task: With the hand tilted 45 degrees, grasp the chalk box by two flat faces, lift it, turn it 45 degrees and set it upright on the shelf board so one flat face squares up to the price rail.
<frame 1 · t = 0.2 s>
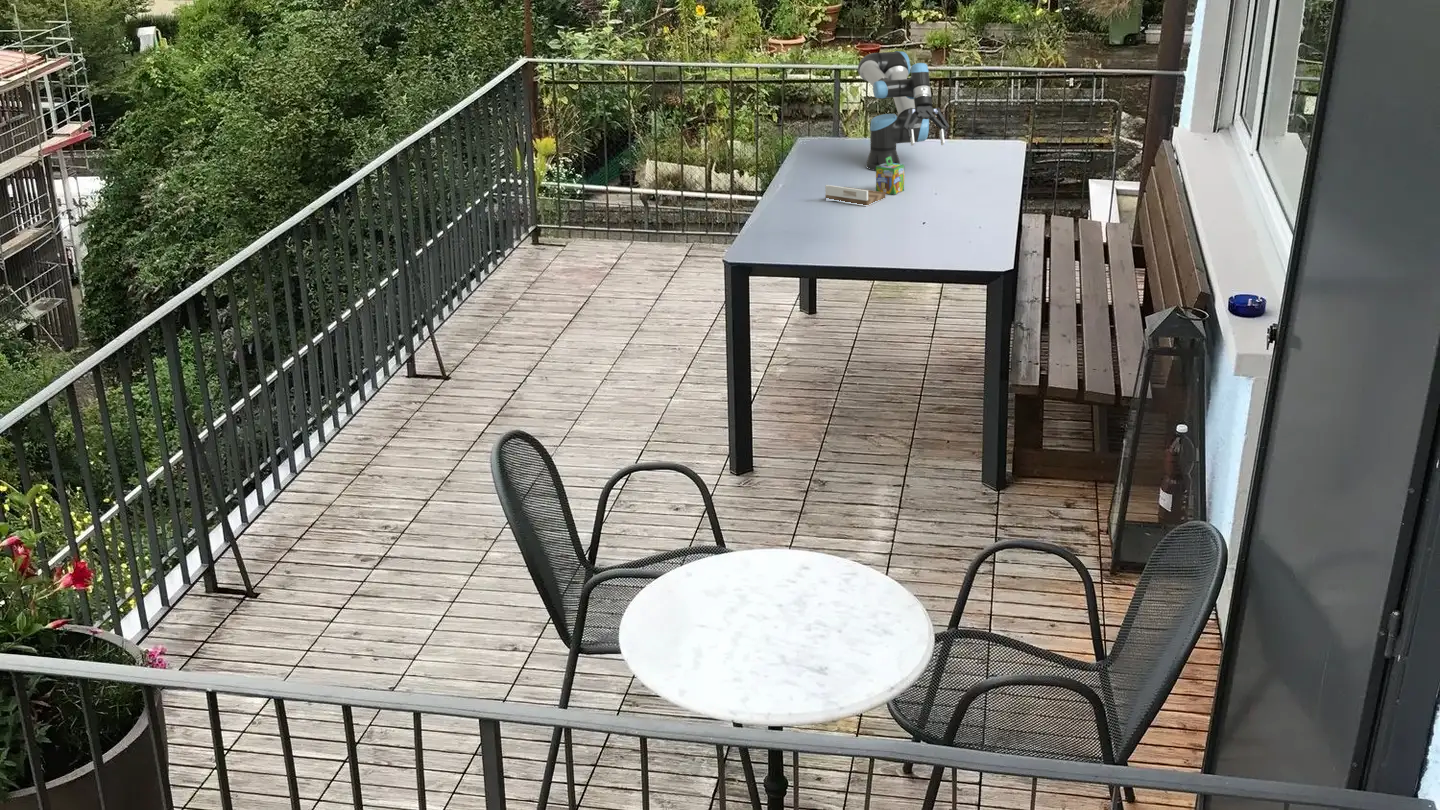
hand: (927, 144, 584), 16 cm above the table, tool tilted 35°, fingers open, 13 cm apart
chalk box: (890, 192, 575), on the table
shelf board: (855, 199, 566), on the table
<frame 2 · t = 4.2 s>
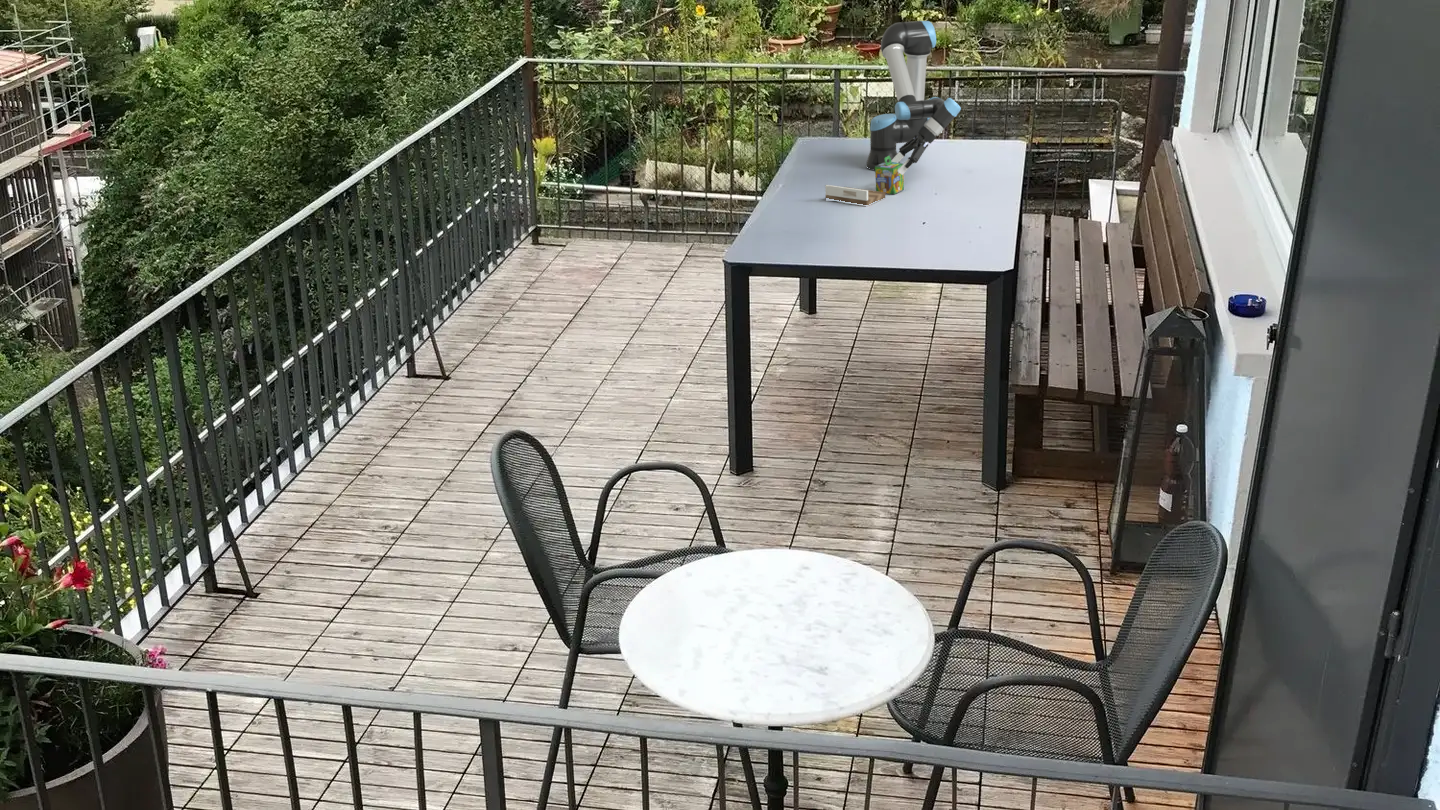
hand: (895, 169, 570), 10 cm above the table, tool tilted 45°, fingers open, 13 cm apart
nothing on the table moved.
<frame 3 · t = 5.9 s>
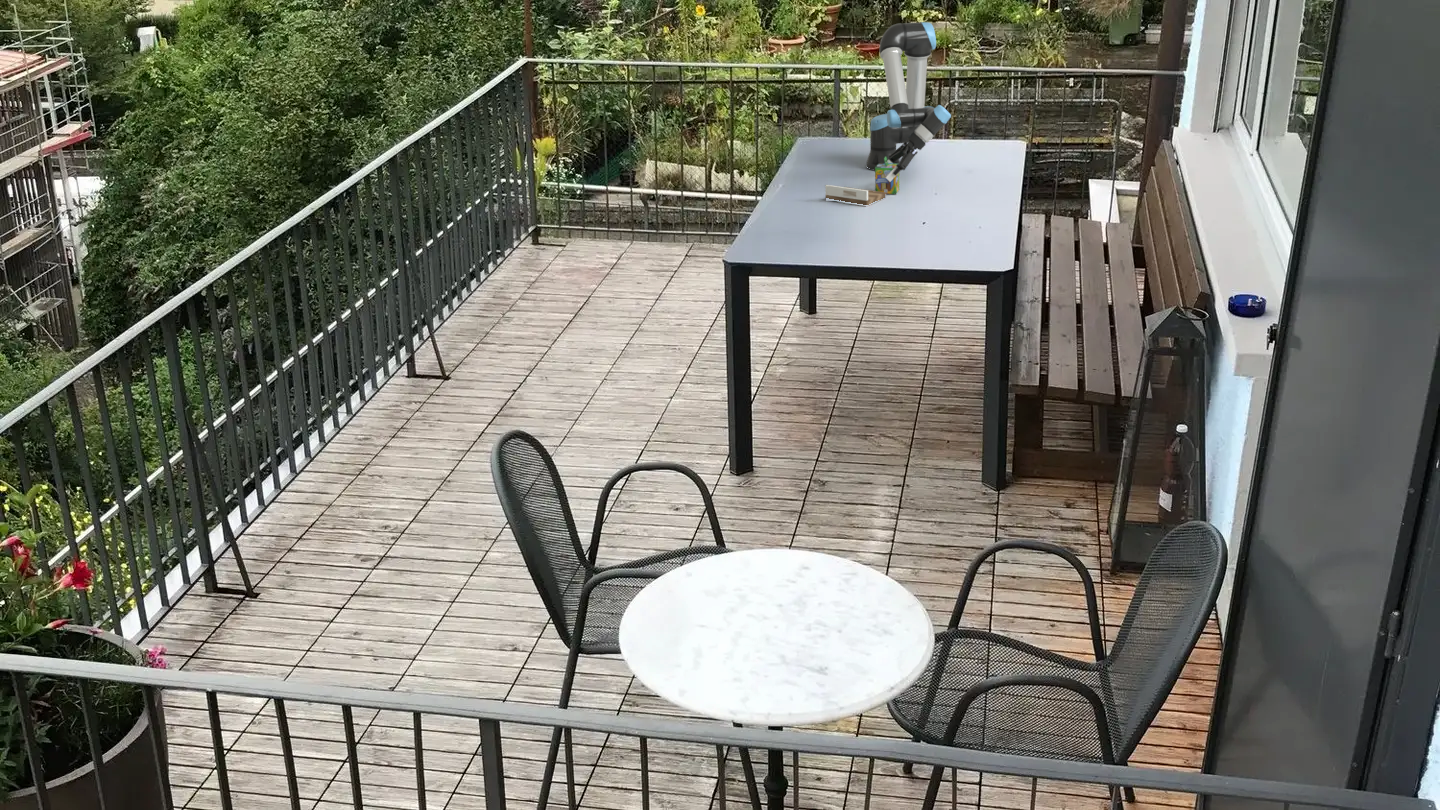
hand: (884, 176, 572), 7 cm above the table, tool tilted 45°, fingers closed on chalk box, 11 cm apart
chalk box: (887, 192, 575), on the table, touching gripper
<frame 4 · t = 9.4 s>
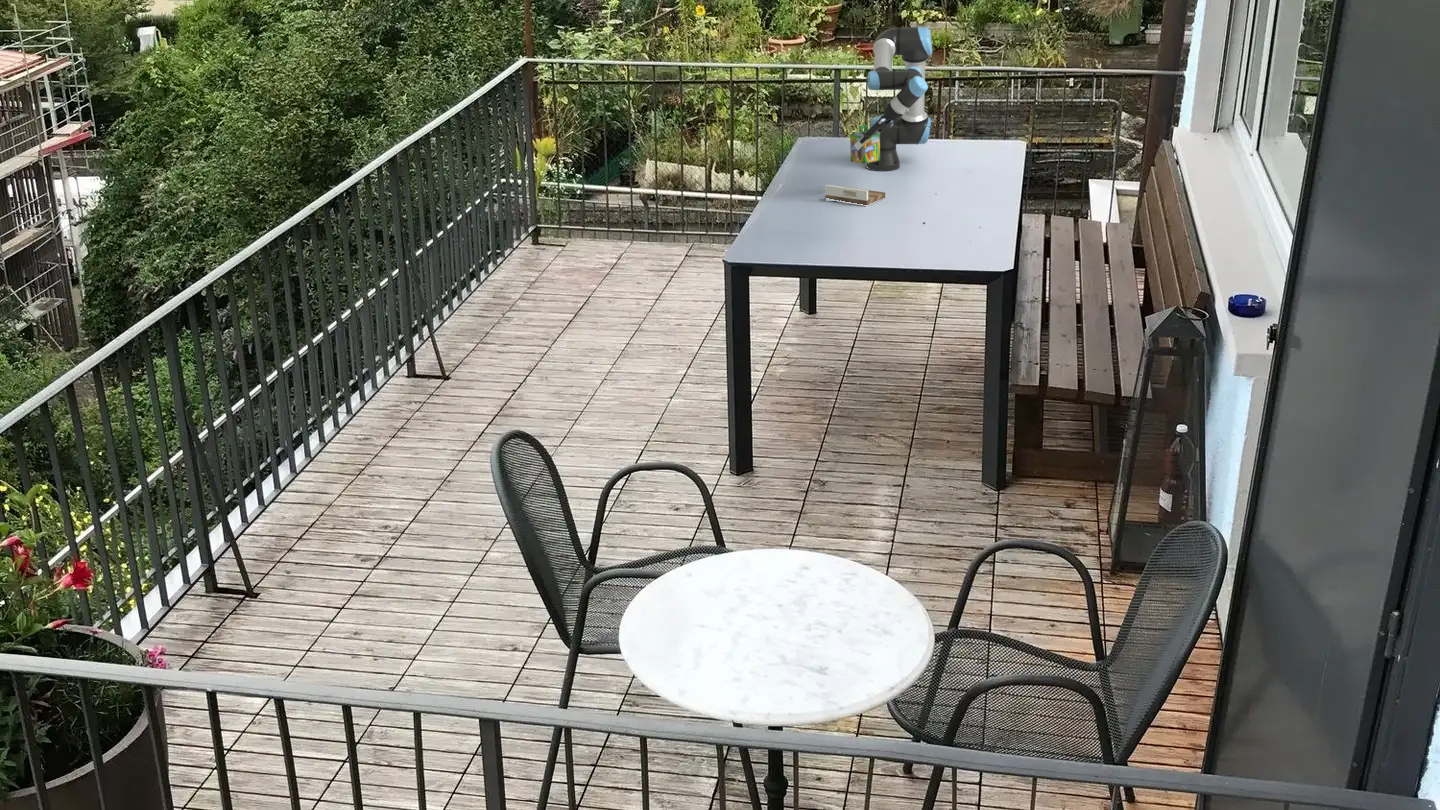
hand: (861, 144, 561), 22 cm above the table, tool tilted 45°, fingers closed on chalk box, 11 cm apart
chalk box: (865, 161, 563), point 15 cm above the table, touching gripper
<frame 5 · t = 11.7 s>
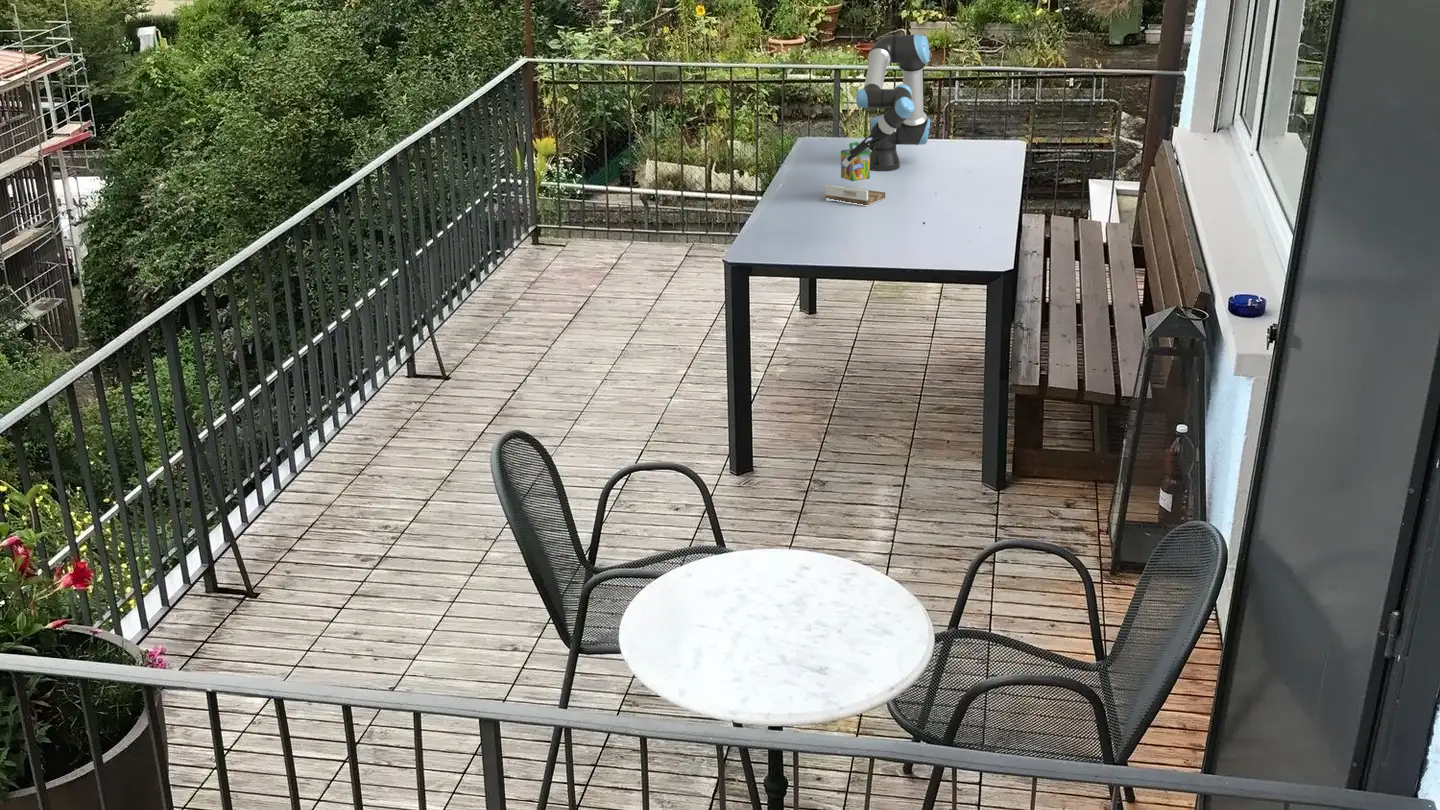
hand: (852, 161, 562), 15 cm above the table, tool tilted 45°, fingers closed on chalk box, 11 cm apart
chalk box: (855, 178, 564), point 8 cm above the table, touching gripper
when the fingers open (11 cm above the table, at t = 13.3 s): chalk box drops 2 cm, resting on shelf board.
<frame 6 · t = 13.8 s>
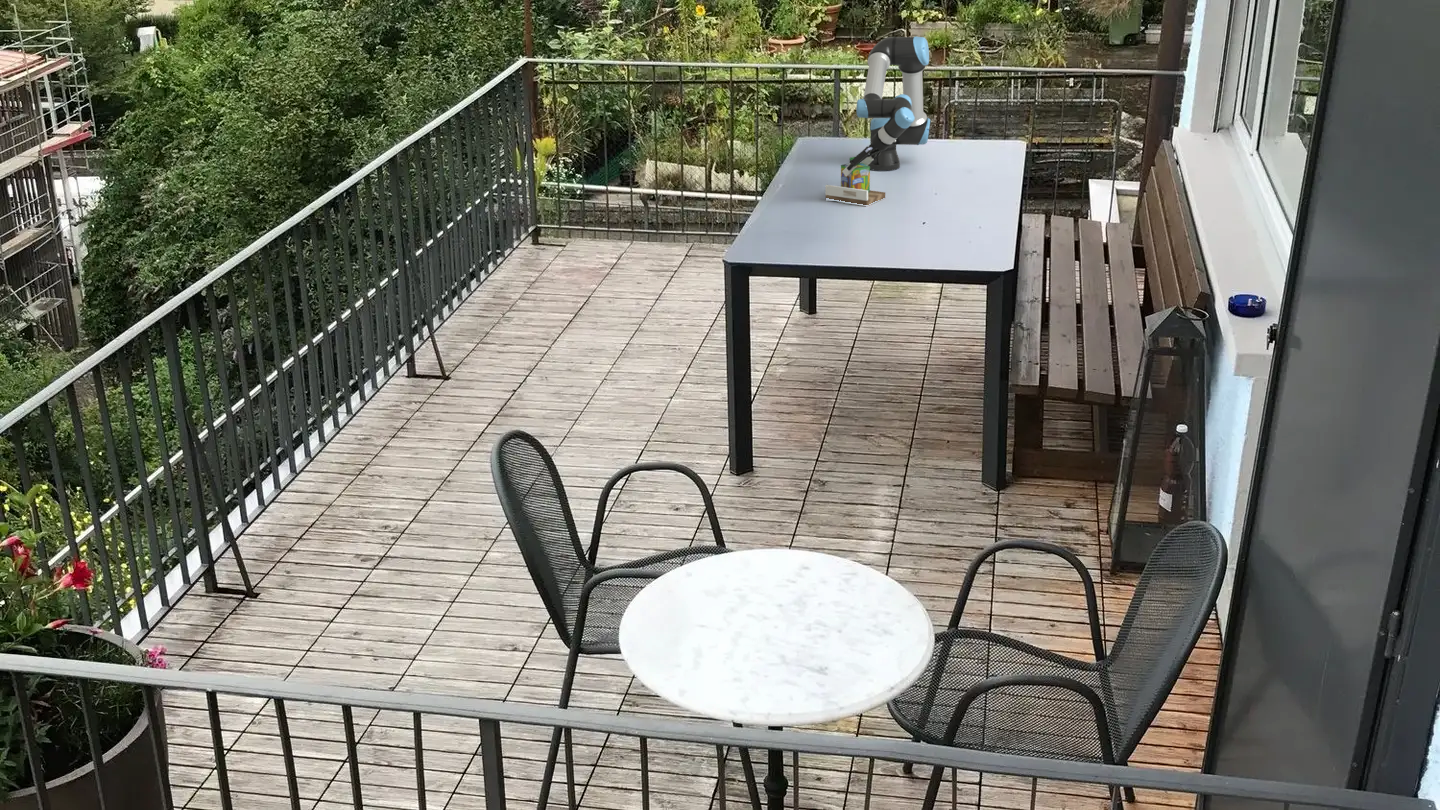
hand: (853, 170, 564), 12 cm above the table, tool tilted 45°, fingers open, 13 cm apart
chalk box: (855, 192, 567), point 2 cm above the table, touching shelf board
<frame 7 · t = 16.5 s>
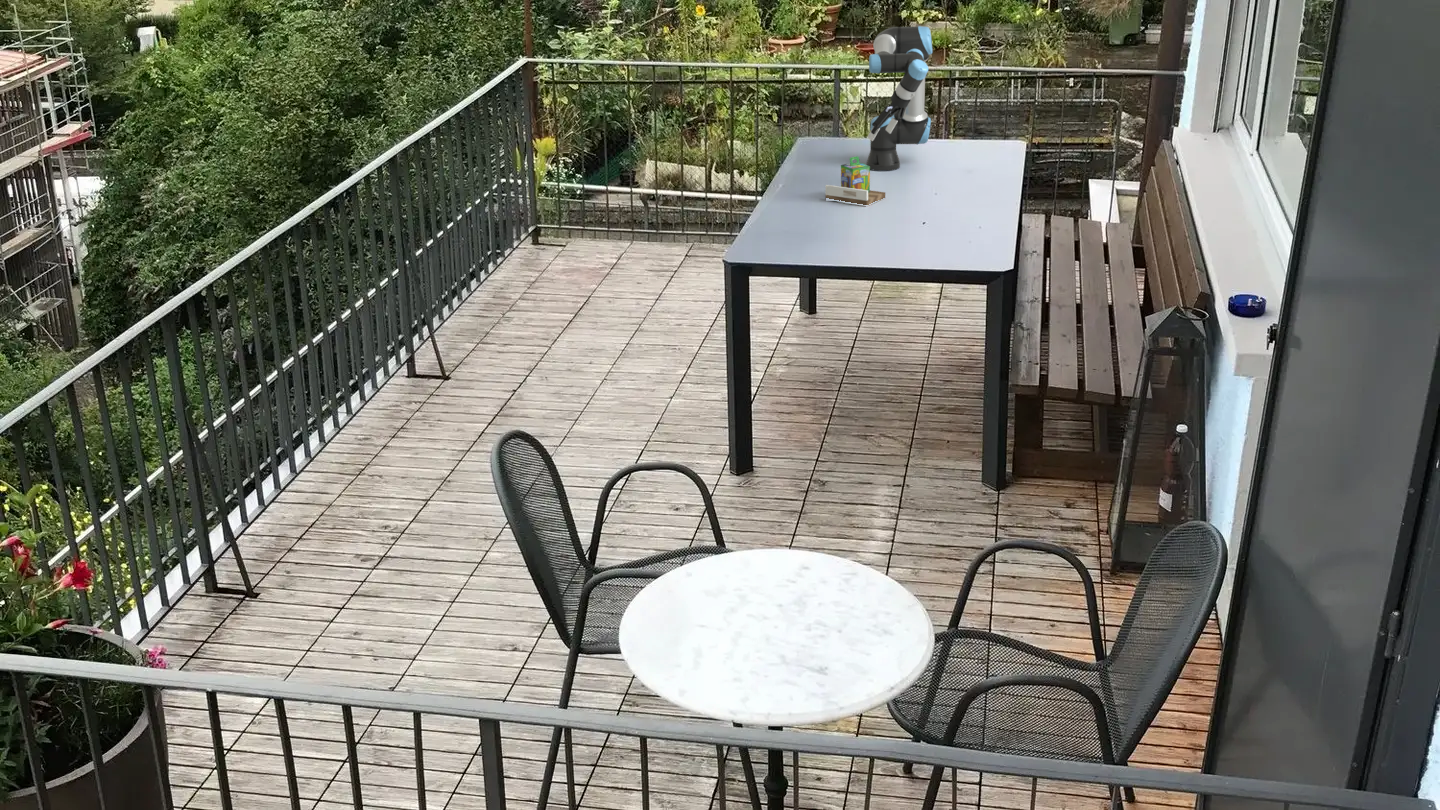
hand: (879, 135, 561), 25 cm above the table, tool tilted 35°, fingers open, 13 cm apart
nothing on the table moved.
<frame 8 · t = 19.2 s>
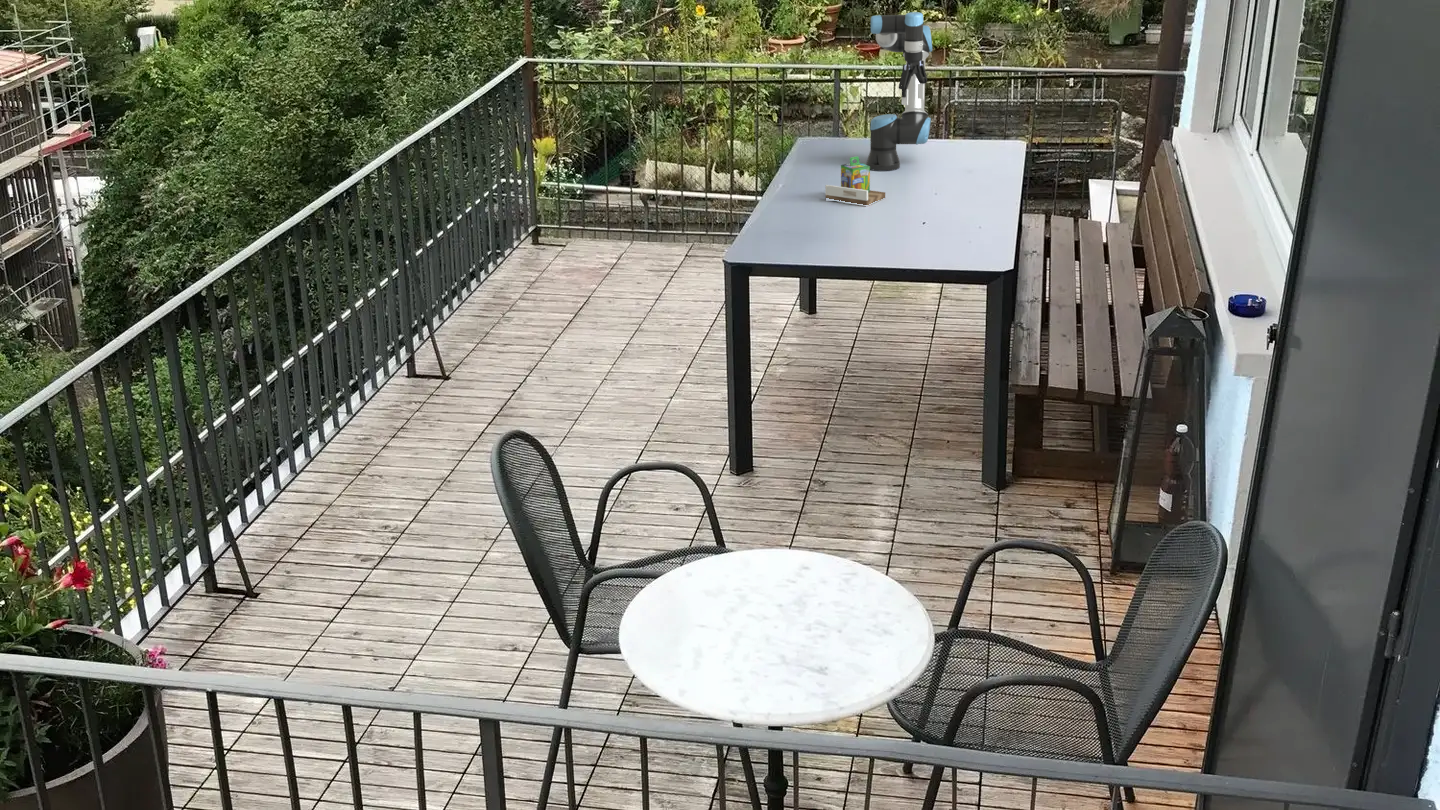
hand: (912, 102, 574), 35 cm above the table, tool pointing down, fingers open, 13 cm apart
nothing on the table moved.
at the end: chalk box 1.1 cm from the target spot on the shelf board, point 2.3 cm above the shelf board's base; chalk box tilted 0°; the gripper is holding nothing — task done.
